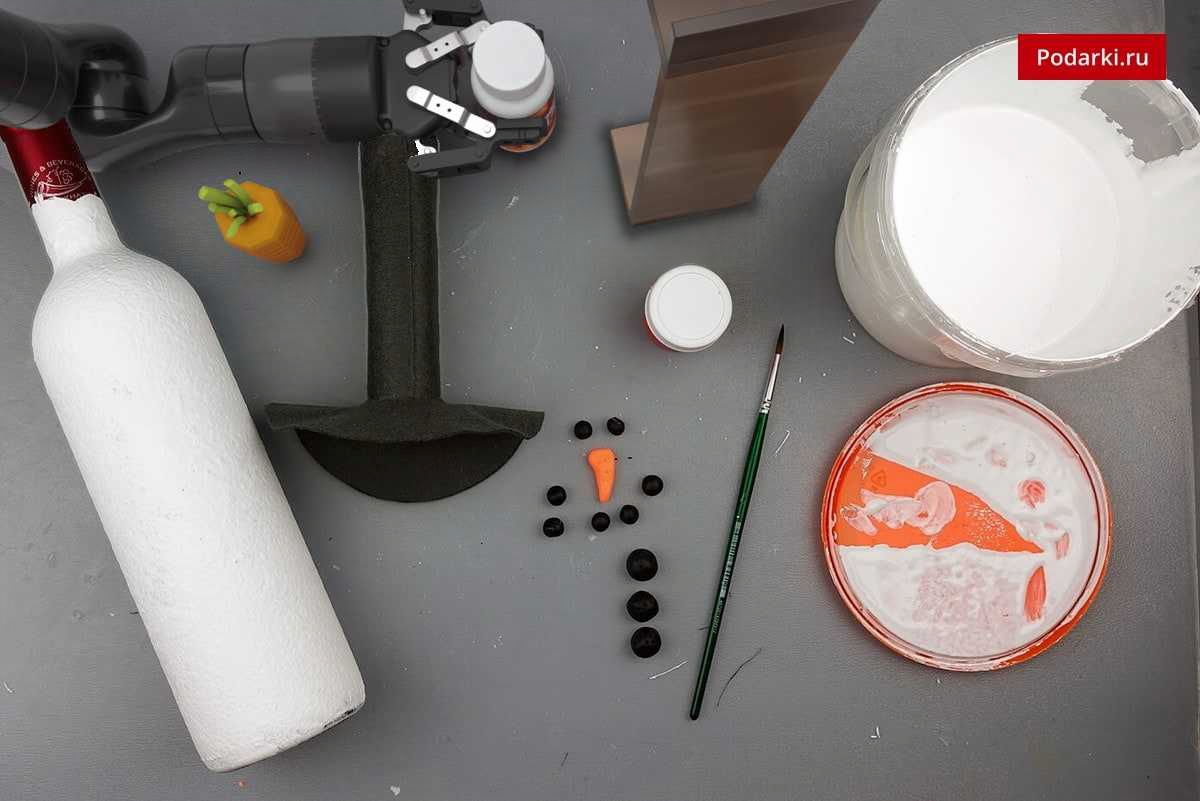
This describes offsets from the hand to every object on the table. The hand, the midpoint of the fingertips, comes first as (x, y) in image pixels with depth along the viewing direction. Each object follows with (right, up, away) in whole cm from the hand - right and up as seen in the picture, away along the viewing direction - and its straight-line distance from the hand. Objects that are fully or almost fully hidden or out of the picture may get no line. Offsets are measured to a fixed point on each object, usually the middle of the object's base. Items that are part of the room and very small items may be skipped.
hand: (544, 83), depth 68 cm
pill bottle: (-3, -1, +7) cm, 7 cm away
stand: (+11, -5, +6) cm, 13 cm away
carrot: (-20, -12, +5) cm, 24 cm away
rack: (+11, -3, -22) cm, 25 cm away
